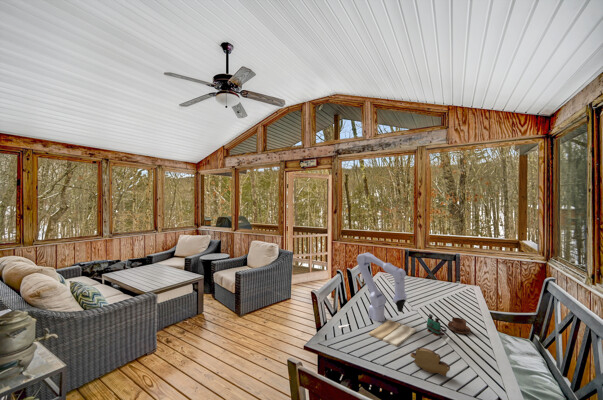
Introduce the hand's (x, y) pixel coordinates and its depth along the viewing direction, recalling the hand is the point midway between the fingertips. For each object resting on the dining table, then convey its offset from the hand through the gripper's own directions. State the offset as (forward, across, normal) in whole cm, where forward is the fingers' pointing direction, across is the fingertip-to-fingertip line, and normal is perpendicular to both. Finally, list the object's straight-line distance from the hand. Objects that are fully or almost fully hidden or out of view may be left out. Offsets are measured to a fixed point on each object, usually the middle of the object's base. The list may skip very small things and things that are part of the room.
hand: (400, 311), depth 158 cm
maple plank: (+10, -10, -4) cm, 15 cm away
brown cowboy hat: (+12, +24, -25) cm, 37 cm away
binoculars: (+11, +10, -17) cm, 23 cm away
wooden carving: (+11, -28, -27) cm, 41 cm away
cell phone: (+10, -25, +19) cm, 33 cm away
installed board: (+10, -10, +4) cm, 15 cm away
